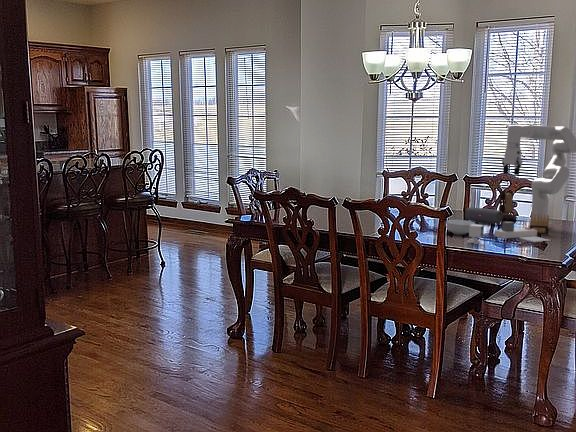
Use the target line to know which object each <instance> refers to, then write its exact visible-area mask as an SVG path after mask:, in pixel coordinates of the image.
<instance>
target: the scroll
mask: <svg viewBox="0 0 576 432" xmlns="http://www.w3.org/2000/svg"><path fill="white" fill-rule="evenodd" d="M498 203H499V206H498V211H501V212H502V215H503V219H502V220H503V222H506V220H514V221H517V219H518V217H517V215H515V214H513V210H514V208H513V204H514V192H513V191H512V190H509V191H507V192H505V191H504V190H502V191H500V192H499V201H498ZM504 204H505V205H504Z"/></svg>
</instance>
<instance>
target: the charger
mask: <svg viewBox="0 0 576 432" xmlns="http://www.w3.org/2000/svg"><path fill="white" fill-rule="evenodd" d="M501 227H502V228H501V230H502V231H506V232H508V231H514V229H515V222H514V221H502V222H501Z"/></svg>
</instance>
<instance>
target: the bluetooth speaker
mask: <svg viewBox="0 0 576 432" xmlns="http://www.w3.org/2000/svg"><path fill="white" fill-rule="evenodd" d="M502 214H503V213H502V212H501V211H499V209H498V210H496V209H491V208H483V207H473V206H472V207H466V210H465V213H464V217H465V219H466V220H467V221H471V222H474V223H475V224H477V223H478V224H481V225H491V224H495V225H496V224H497V225H498V224H502V222H503V220H504V219H503V215H502Z"/></svg>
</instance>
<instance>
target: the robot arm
mask: <svg viewBox="0 0 576 432" xmlns="http://www.w3.org/2000/svg"><path fill="white" fill-rule="evenodd" d="M506 138H507V139H506V147H505V151H504V157H503V158H502V159H501V163H502V167H503V169H502V171H503V172H502V173H503V174H506V175H507V174H509V166H510V165H511V166H512V165H513V166H514V168H513V169H514V171H513V175H514V176H518V175H520V169H521V167H522V165H523V164H524V163H523V162H524V161H523V159H522V151H521V139H533V140H546V141H547V140H548V141H553V142H552V145H551V151H552V158H551V159H550V161H549V162H548V164H547V165H546V166H545V168H544V169H543V172H542V176H543V177H538V178H537V177H536V178H535V179H533V181H531V193H532V196H531V197H532V198H531V199H532V200H531V213H530V214H532V215H533V220H534V215H535V214H536V221H537V216H538V214H539V223H540V217H541V214H542V221H543V218H544V215H545V216H546V219H547V215H548V216H549V214H548V213H549V201H550V200H549V196H548V195H556V194H558V193H559V192H560V191H561V189H562V188H563V186H565V185H566V182H567V181H568V180H569V178H570V169H569V168H568V167H567V166H565V165H566V157H565V154H575V153H576V136H575V135H574V133H573V131H572V130H571V129H570V128H569V127H568V126H562V125H561V126H555V125H543V124H542V125H541V124H540V125H539V124H538V125H528V124H510V125H508V127H507V136H506ZM553 223H554V221H551V220H549V225H553ZM542 225H543V223H542ZM545 226H546V225H545ZM527 228H530V224H528V225H527ZM549 229H550V227H549V228H548V230H549Z"/></svg>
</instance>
